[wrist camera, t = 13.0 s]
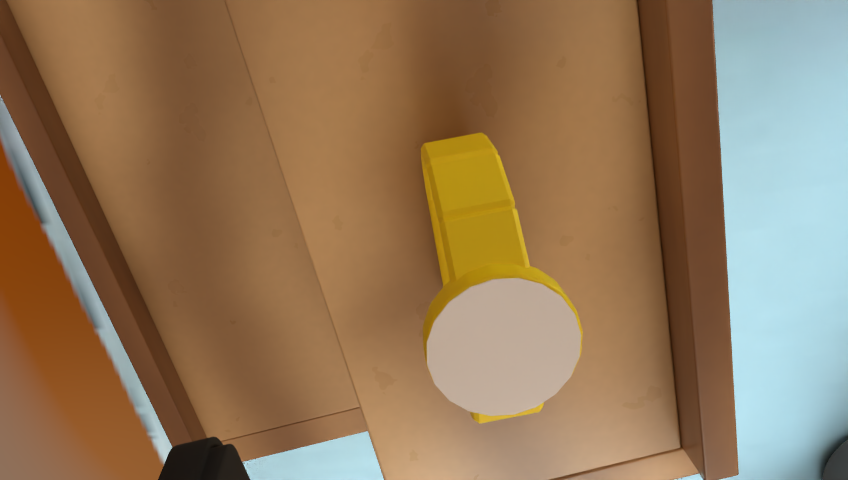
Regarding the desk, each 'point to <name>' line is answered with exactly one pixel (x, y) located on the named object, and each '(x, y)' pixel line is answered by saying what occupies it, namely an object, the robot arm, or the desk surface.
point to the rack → (390, 215)
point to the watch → (490, 291)
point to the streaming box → (837, 464)
